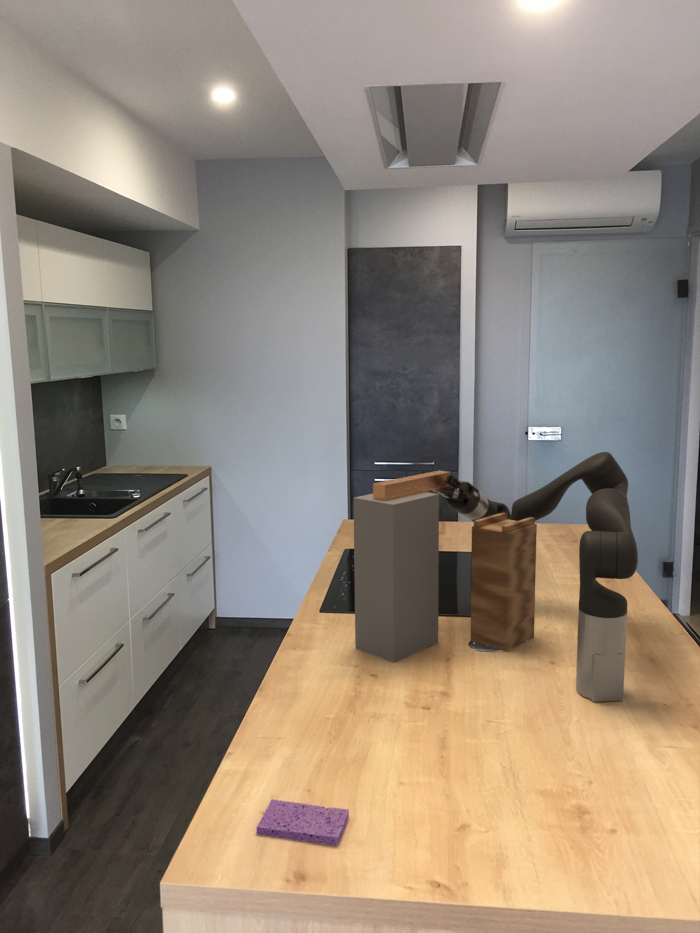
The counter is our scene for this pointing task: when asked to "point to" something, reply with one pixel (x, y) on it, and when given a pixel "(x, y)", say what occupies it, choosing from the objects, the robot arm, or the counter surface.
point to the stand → (396, 574)
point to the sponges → (303, 822)
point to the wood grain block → (503, 581)
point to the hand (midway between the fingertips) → (433, 476)
